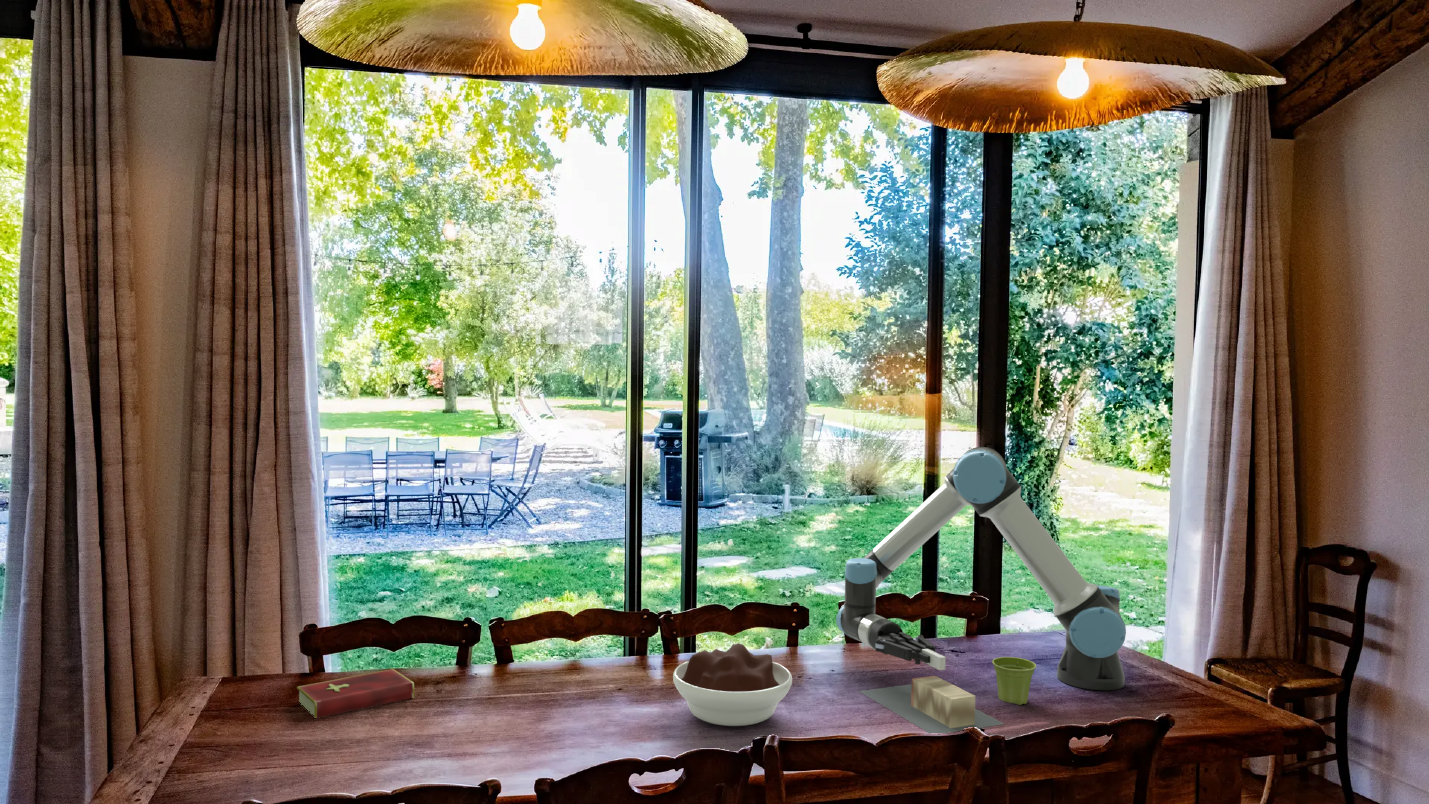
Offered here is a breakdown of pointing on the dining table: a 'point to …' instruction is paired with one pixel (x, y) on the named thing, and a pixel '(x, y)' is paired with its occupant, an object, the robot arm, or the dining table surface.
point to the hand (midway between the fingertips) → (942, 663)
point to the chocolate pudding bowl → (732, 686)
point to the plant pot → (1013, 678)
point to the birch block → (943, 701)
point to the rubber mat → (901, 705)
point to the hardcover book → (355, 692)
